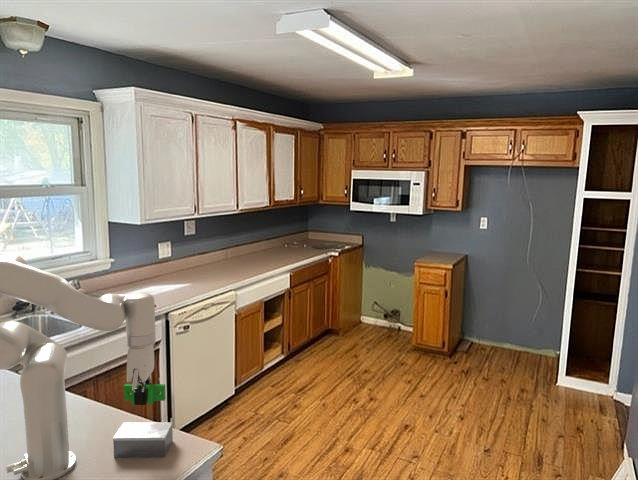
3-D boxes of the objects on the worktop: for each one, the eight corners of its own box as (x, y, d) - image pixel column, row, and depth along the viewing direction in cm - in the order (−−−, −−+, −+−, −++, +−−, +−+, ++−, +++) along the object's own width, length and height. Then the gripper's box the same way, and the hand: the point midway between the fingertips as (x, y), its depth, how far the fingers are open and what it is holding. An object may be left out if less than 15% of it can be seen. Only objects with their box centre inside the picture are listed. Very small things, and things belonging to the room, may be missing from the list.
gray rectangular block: (114, 457, 129) (113, 437, 129) (124, 441, 137) (123, 422, 136) (165, 457, 130) (164, 437, 129) (172, 441, 138) (172, 422, 137)
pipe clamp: (121, 405, 130) (120, 390, 129) (125, 399, 133) (125, 384, 133) (162, 405, 130) (161, 389, 129) (165, 398, 134) (165, 383, 133)
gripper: (137, 328, 137) (139, 386, 140) (115, 349, 120) (118, 416, 123) (163, 328, 137) (164, 386, 140) (145, 349, 121) (147, 415, 124)
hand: (143, 399), depth 132 cm, fingers closed on pipe clamp, 3 cm apart
